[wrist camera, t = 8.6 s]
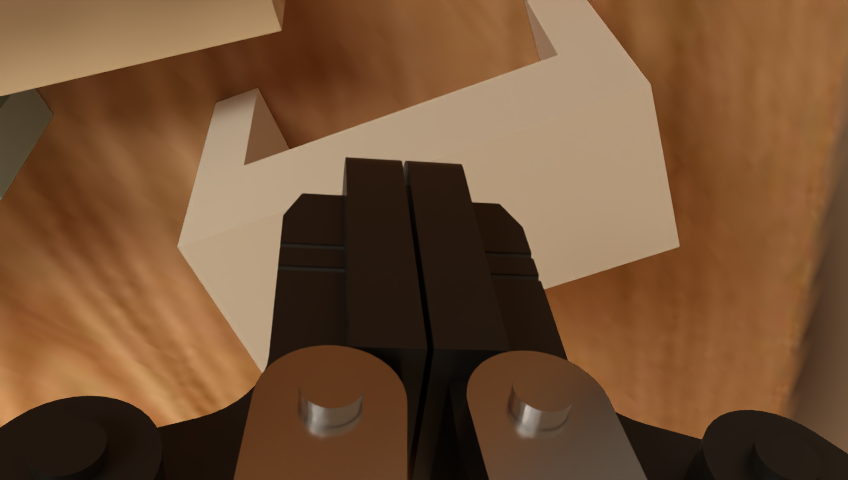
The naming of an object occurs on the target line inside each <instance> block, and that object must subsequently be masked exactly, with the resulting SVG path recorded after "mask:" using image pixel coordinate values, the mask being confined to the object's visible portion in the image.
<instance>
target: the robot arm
mask: <svg viewBox="0 0 848 480" xmlns="http://www.w3.org/2000/svg"><path fill="white" fill-rule="evenodd" d="M531 254H532V253H531V250H530V247H529V244H528V241H527V238H526V235H525V232H524V229H523V227H522V226H521V225H520V224H519V223H518V222H517V221H516V220H515V219H514V218H513V217H512V216H511V215H510V214H509V213H508V212H507V211H506V210H505V209H504V208H503V207H502V206H501V205H500V204H496V203H478V202H472V200H471V196H470V192H469V188H468V184H467V180H466V176H465V173H464V169H463V166H462V164H454V163H437V162H421V161H405V163H404V166H403V163H402V161H401V160H385V159H369V158H353V157H345V164H344V175H343V189H342V195H327V194H308V193H302V194H301V195H300V196H299V198H298V199H297V200H296V201H295V202H294V203H293V204H292V206H291V207H290V208H289V209H288V210H287V211H286V212H285V214H284V215H283V221H282V231H281V240H280V250H279V260H278V270H277V280H276V289H275V299H274V309H273V319H272V329H271V338H270V348H269V357H268V362H267V366H266V368H265V370H264V372H263V373H262V374H261V376H260V377H259V379H258V381H257V382H256V385H255V386H254V387H253V388H252V389H251V390H250V391H249V392H248V393H247V394H246V395H244V396H243V397H242V398H240V399H239V400H238V401H236V402H235V403H233V404H231V405H229V406H228V407H226V408H224V409H222V410H219V411H217V412H215V413H212V414H209V415H206V416H202V417H199V418H196V419H191V420H187V421H183V422H179V423H175V424H171V425H167V426H162V427H158V428H157V427H156V425H155V424H154V423H153V421H152V420H151V419H150V417H149V416H147V415H146V414H145V413H144V412H143V411H141V410H140V409H138V408H137V407H135V406H133V405H131V404H129V403H127V402H124V401H121V400H118V399H113V398H108V397H101V396H79V397H70V398H65V399H59V400H56V401H52V402H49V403H46V404H43V405H40V406H38V407H36V408H33V409H31V410H29V411H27V412H25V413H23V414H21V415H20V416H18V417H16V418H14V419H13V420H11V421H10V422H8V423H7V424H5V425H3V426H2V427H0V480H848V454H847V453H846V452H844V451H843V450H841V449H839V448H838V447H836V446H835V445H833V444H832V443H830V442H829V441H827V440H826V439H824V438H823V437H821V436H819V435H818V434H816V433H815V432H813V431H811V430H810V429H808V428H806V427H805V426H803V425H801V424H799V423H797V422H794V421H792V420H790V419H788V418H785V417H782V416H779V415H776V414H772V413H768V412H763V411H755V410H739V411H733V412H729V413H726V414H724V415H721V416H719V417H718V418H717V419H715V420H714V421H713V422H712V423H711V424H710V425H709V426H708V428H707V430H706V432H705V434H704V436H703V438H702V439H698V438H694V437H691V436H687V435H683V434H680V433H676V432H672V431H669V430H665V429H661V428H658V427H654V426H650V425H647V424H644V423H641V422H638V421H635V420H632V419H630V418H627V417H625V416H623V415H620V414H618V413H617V412H615V410H614V408H613V406H612V404H611V402H610V400H609V398H608V396H607V394H606V393H605V391H604V389H603V388H602V387H601V386H600V385H599V383H598V382H597V381H596V380H595V379H594V378H593V377H592V376H590V375H589V374H588V373H587V372H585V371H584V370H583V369H581V368H580V367H578V366H577V365H575V364H573V363H571V362H569V361H568V359H567V356H566V353H565V350H564V347H563V345H562V342H561V339H560V336H559V333H558V330H557V327H556V324H555V321H554V318H553V315H552V312H551V309H550V306H549V303H548V300H547V297H546V294H545V291H544V288H543V285H542V282H541V281H539V274H538V271H537V268H536V265H535V262H534V259H532V258H531Z"/></svg>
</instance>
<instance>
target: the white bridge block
mask: <svg viewBox="0 0 848 480" xmlns="http://www.w3.org/2000/svg"><path fill="white" fill-rule="evenodd" d="M524 2H525V6H526V10H527V13H528V17H529V21H530V25H531V28H532V32H533V36H534V40H535V43H536V47H537V51H538V54H539V58H540V61H539V62H536V63H534V64H531V65H528V66H525V67H522V68H519V69H516V70H514V71H511V72H508V73H505V74H502V75H499V76H497V77H494V78H491V79H488V80H485V81H482V82H480V83H477V84H474V85H471V86H468V87H465V88H463V89H460V90H457V91H454V92H451V93H448V94H446V95H443V96H440V97H437V98H434V99H431V100H429V101H426V102H423V103H420V104H417V105H414V106H412V107H409V108H406V109H403V110H400V111H397V112H395V113H392V114H389V115H386V116H383V117H380V118H378V119H375V120H372V121H369V122H366V123H363V124H361V125H358V126H355V127H352V128H349V129H346V130H343V131H341V132H338V133H335V134H332V135H329V136H326V137H324V138H321V139H318V140H315V141H312V142H309V143H307V144H304V145H301V146H298V147H295V148H292V149H289V147H288V145H287V143H286V141H285V139H284V138H283V136H282V134H281V132H280V130H279V128H278V126H277V124H276V122H275V120H274V118H273V116H272V114H271V112H270V110H269V108H268V106H267V105H266V103H265V101H264V99H263V97H262V95H261V93H260V91H259V89H258V88H255V89H252V90H249V91H247V92H244V93H241V94H238V95H236V96H233V97H230V98H227V99H225V100H222V101H219V102H216V104H215V108H214V112H213V115H212V119H211V123H210V127H209V130H208V134H207V138H206V141H205V145H204V149H203V153H202V156H201V160H200V164H199V168H198V171H197V175H196V179H195V183H194V186H193V190H192V194H191V198H190V201H189V205H188V209H187V213H186V216H185V220H184V224H183V228H182V231H181V235H180V239H179V243H178V246H177V247H178V249H179V250H180V252H181V253H182V255H183V256H184V258H185V259H186V261H187V262H188V264H189V265H190V267H191V268H192V270H193V271H194V273H195V274H196V276H197V277H198V279H199V280H200V281H201V283H202V284H203V286H204V287H205V289H206V290H207V292H208V293H209V295H210V296H211V298H212V299H213V301H214V302H215V304H216V305H217V307H218V308H219V310H220V311H221V313H222V314H223V316H224V317H225V318H226V320H227V321H228V323H229V324H230V326H231V327H232V329H233V330H234V332H235V333H236V335H237V336H238V338H239V339H240V341H241V342H242V344H243V345H244V347H245V348H246V350H247V351H248V353H249V354H250V355H251V357H252V358H253V360H254V361H255V363H256V364H257V366H258V367H259V369H260V370H261V372H262V373H263V372H264V370H265V368H266V366H267V362H268V357H269V348H270V338H271V329H272V319H273V309H274V299H275V289H276V280H277V270H278V260H279V250H280V240H281V231H282V221H283V215H284V214H285V212H286V211H287V210H288V209H289V208H290V207H291V206H292V204H293V203H294V202H295V201H296V200H297V199H298V198H299V196H300V195H301V194H302V193H308V194H327V195H342V189H343V175H344V164H345V157H353V158H369V159H385V160H401V161H402V163H403V166H404V163H405V161H421V162H437V163H454V164H462V166H463V169H464V173H465V176H466V180H467V184H468V188H469V192H470V196H471V200H472V202H478V203H496V204H500V205H501V206H502V207H503V208H504V209H505V210H506V211H507V212H508V213H509V214H510V215H511V216H512V217H513V218H514V219H515V220H516V221H517V222H518V223H519V224H520V225H521V226H522V227H523V229H524V232H525V235H526V238H527V241H528V244H529V247H530V250H531V253H532V254H531V258H532V259H534V262H535V265H536V268H537V271H538V274H539V281H541V282H542V285H543V288H544V289H547V288H551V287H554V286H557V285H560V284H563V283H566V282H569V281H573V280H576V279H579V278H582V277H585V276H588V275H592V274H595V273H598V272H601V271H604V270H607V269H611V268H614V267H617V266H620V265H623V264H626V263H630V262H633V261H636V260H639V259H642V258H645V257H648V256H652V255H655V254H658V253H661V252H664V251H667V250H671V249H674V248H677V247H680V245H679V239H678V234H677V228H676V223H675V217H674V211H673V206H672V200H671V195H670V189H669V184H668V178H667V172H666V167H665V161H664V156H663V150H662V144H661V139H660V133H659V128H658V122H657V117H656V111H655V105H654V100H653V94H652V89H651V84H650V83H649V82H648V80H647V79H646V78H645V76H644V75H643V74H642V72H641V71H640V70H639V68H638V67H637V66H636V64H635V63H634V62H633V60H632V59H631V58H630V56H629V55H628V54H627V52H626V51H625V50H624V48H623V47H622V46H621V44H620V43H619V42H618V40H617V39H616V38H615V36H614V35H613V34H612V32H611V31H610V30H609V29H608V27H607V26H606V25H605V23H604V22H603V21H602V19H601V18H600V17H599V15H598V14H597V13H596V11H595V10H594V9H593V7H592V6H591V5H590V3H589V2H588V1H587V0H524Z"/></svg>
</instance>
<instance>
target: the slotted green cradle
mask: <svg viewBox="0 0 848 480" xmlns="http://www.w3.org/2000/svg"><path fill="white" fill-rule="evenodd" d="M52 117H53V113H52V112H51V110H50V109H49V108H48V106H47V105H46V103H45V102H44V101H43V99H42V98H41V96H40V95H39V93H38V92H37V91H36V89H35V88H34V89H29V90H25V91H21V92H16V93H12V94H8V95H4V96H0V199H2V198H3V196H4V195H5V193H6V192H7V190H8V188H9V187H10V185H11V183H12V182H13V180H14V179H15V177H16V175H17V174H18V172H19V170H20V169H21V167H22V166H23V164H24V162H25V161H26V159H27V158H28V156H29V154H30V153H31V151H32V149H33V148H34V146H35V145H36V143H37V141H38V140H39V138H40V136H41V135H42V133H43V132H44V130H45V128H46V127H47V125H48V124H49V122H50V120H51V119H52Z"/></svg>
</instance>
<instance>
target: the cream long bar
mask: <svg viewBox="0 0 848 480" xmlns="http://www.w3.org/2000/svg"><path fill="white" fill-rule="evenodd" d="M285 1H286V0H0V96H4V95H8V94H12V93H16V92H21V91H25V90H29V89H34V88H38V87H42V86H46V85H51V84H55V83H59V82H64V81H68V80H72V79H77V78H81V77H85V76H89V75H94V74H98V73H102V72H107V71H111V70H115V69H119V68H124V67H128V66H132V65H137V64H141V63H145V62H149V61H154V60H158V59H162V58H167V57H171V56H175V55H179V54H184V53H188V52H192V51H197V50H201V49H205V48H209V47H214V46H218V45H222V44H227V43H231V42H235V41H240V40H244V39H248V38H252V37H257V36H261V35H265V34H270V33H274V32H278V31H281V30H282V23H283V16H284V8H285Z"/></svg>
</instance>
